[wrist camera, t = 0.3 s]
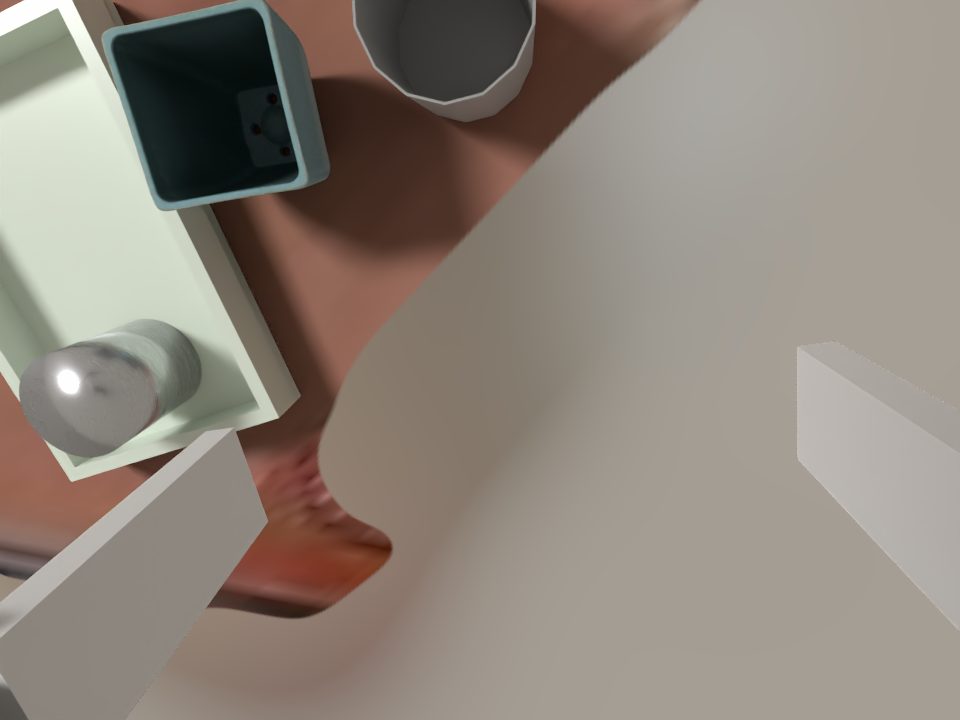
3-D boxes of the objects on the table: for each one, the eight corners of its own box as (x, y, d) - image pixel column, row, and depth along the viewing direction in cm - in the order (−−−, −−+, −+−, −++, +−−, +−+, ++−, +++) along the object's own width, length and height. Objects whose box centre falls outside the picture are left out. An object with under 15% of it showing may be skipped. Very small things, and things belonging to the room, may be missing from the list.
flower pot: (197, 63, 35) (94, 29, 27) (327, 36, 34) (264, -7, 26) (237, 203, 38) (155, 213, 30) (359, 183, 37) (310, 187, 29)
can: (93, 335, 41) (-4, 372, 33) (173, 306, 40) (90, 338, 32) (140, 416, 43) (59, 469, 35) (217, 392, 42) (150, 441, 34)
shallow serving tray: (-105, 107, 38) (-175, 100, 34) (112, 1, 34) (62, -19, 31) (108, 456, 46) (71, 481, 42) (300, 396, 42) (279, 418, 39)
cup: (495, 145, 36) (484, 136, 26) (379, 85, 35) (325, 53, 26) (557, 8, 33) (571, -57, 23) (433, -60, 32) (395, -155, 23)
